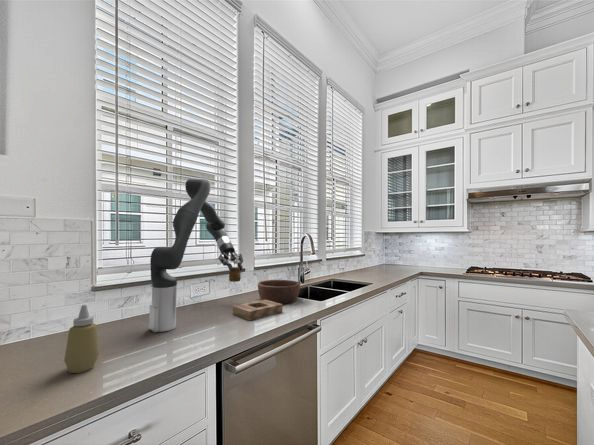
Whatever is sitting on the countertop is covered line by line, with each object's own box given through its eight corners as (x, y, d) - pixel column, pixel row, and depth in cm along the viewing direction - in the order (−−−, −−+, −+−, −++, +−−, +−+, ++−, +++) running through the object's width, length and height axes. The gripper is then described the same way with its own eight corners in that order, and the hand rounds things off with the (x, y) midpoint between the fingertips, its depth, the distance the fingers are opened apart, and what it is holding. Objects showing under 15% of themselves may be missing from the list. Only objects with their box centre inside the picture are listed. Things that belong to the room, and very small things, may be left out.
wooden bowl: (307, 299, 174) (307, 282, 174) (284, 308, 153) (284, 288, 153) (274, 294, 187) (274, 278, 188) (248, 301, 166) (248, 283, 167)
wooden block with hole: (249, 320, 130) (249, 311, 130) (232, 314, 140) (232, 305, 140) (282, 312, 144) (282, 304, 144) (264, 307, 154) (265, 299, 154)
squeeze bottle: (104, 362, 87) (107, 302, 87) (86, 375, 79) (88, 309, 79) (77, 362, 86) (79, 302, 87) (55, 375, 78) (58, 309, 79)
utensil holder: (229, 282, 150) (230, 258, 150) (228, 280, 156) (229, 257, 156) (240, 281, 151) (241, 258, 152) (239, 279, 157) (240, 257, 158)
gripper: (216, 241, 155) (227, 266, 146) (239, 241, 165) (251, 264, 156) (211, 251, 158) (222, 275, 149) (233, 250, 168) (245, 273, 159)
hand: (236, 269), depth 153 cm, fingers closed on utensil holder, 5 cm apart
